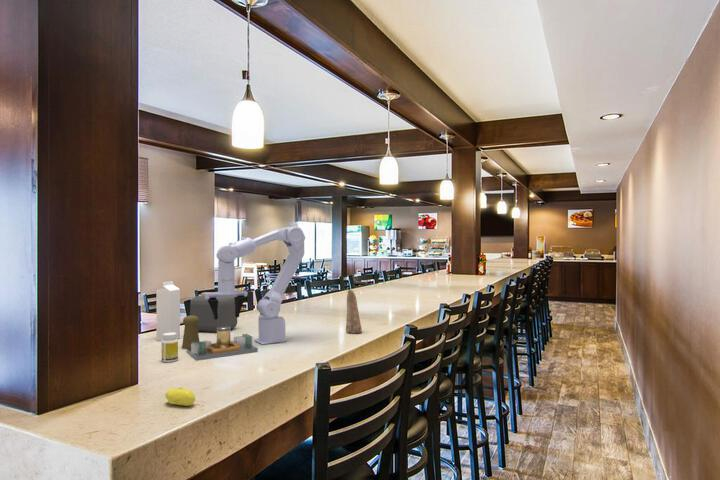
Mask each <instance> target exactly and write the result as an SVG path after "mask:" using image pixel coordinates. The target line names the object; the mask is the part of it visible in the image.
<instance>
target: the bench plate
mask: <svg viewBox="0 0 720 480" xmlns="http://www.w3.org/2000/svg"><path fill="white" fill-rule="evenodd" d="M253 337H254V336H252V335H251V334H248V333H242V335H241V336H233V341H232V340H230V347H224V348H217V342H214V343H212V341H210V340H202V341H200V340H199V341H193V342H192V344H191V348H187V349H186V353H187V355H188V354H189V356H191V357H192V358H193V359H194V360H196V361H201V360H208V359H215V358H223V357H230V356H231V357H232V356H235V355H244V354H250V353H257V352H258V351H259V350H258V349H259V348H258V347H257V346H254V344H253V342H254V341H253Z"/></svg>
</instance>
